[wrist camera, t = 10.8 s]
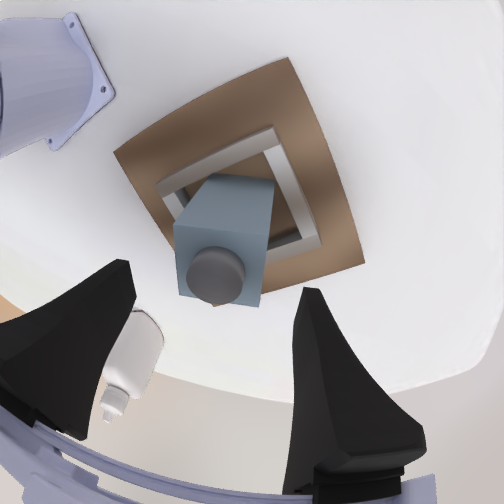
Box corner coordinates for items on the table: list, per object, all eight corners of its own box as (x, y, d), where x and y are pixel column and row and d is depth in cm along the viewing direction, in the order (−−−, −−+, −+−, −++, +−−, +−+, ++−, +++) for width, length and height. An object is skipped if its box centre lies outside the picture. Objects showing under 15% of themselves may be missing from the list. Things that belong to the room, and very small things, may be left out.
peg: (212, 172, 17) (164, 236, 11) (275, 179, 17) (266, 250, 10) (210, 227, 19) (173, 308, 13) (268, 234, 19) (256, 322, 13)
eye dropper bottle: (130, 335, 30) (91, 420, 20) (128, 304, 27) (78, 401, 17) (163, 347, 30) (130, 437, 20) (167, 319, 27) (125, 422, 17)
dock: (120, 148, 18) (101, 158, 16) (287, 58, 13) (288, 53, 11) (216, 299, 25) (209, 319, 22) (362, 255, 20) (369, 275, 18)
